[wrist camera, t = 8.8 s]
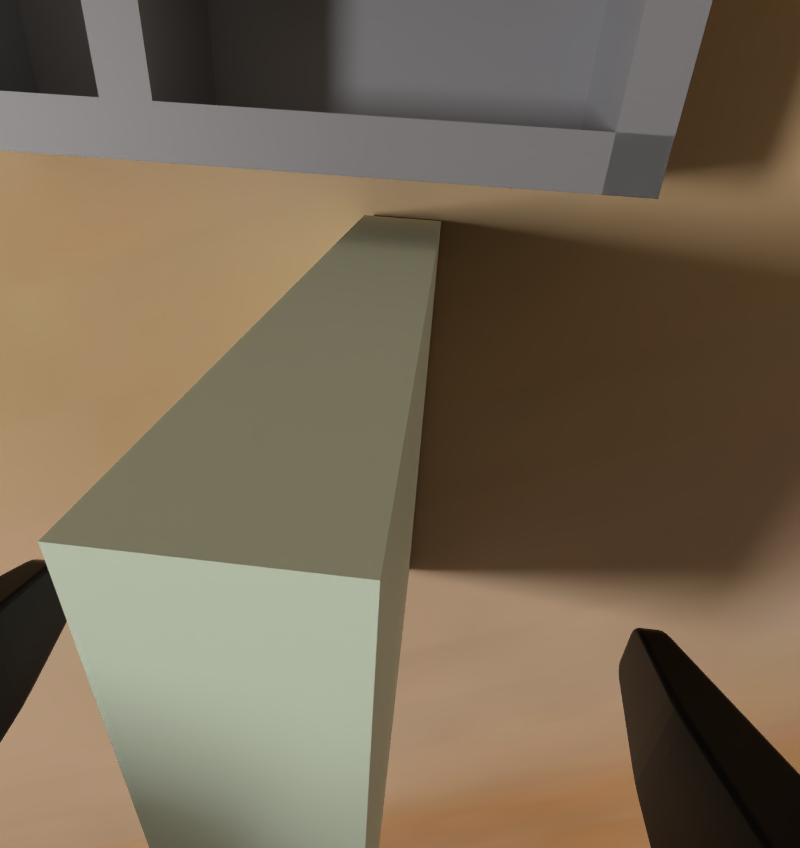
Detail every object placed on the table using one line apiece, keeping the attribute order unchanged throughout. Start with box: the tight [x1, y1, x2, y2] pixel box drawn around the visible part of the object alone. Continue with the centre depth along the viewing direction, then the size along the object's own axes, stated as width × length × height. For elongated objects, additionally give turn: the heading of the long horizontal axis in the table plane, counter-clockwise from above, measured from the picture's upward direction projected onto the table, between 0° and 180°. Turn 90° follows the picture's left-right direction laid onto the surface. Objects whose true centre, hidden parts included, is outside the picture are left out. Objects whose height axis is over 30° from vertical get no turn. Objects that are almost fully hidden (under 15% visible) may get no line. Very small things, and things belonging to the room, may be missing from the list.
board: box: [38, 215, 441, 848], centre depth 9 cm, size 2×10×10 cm, turn 177°
